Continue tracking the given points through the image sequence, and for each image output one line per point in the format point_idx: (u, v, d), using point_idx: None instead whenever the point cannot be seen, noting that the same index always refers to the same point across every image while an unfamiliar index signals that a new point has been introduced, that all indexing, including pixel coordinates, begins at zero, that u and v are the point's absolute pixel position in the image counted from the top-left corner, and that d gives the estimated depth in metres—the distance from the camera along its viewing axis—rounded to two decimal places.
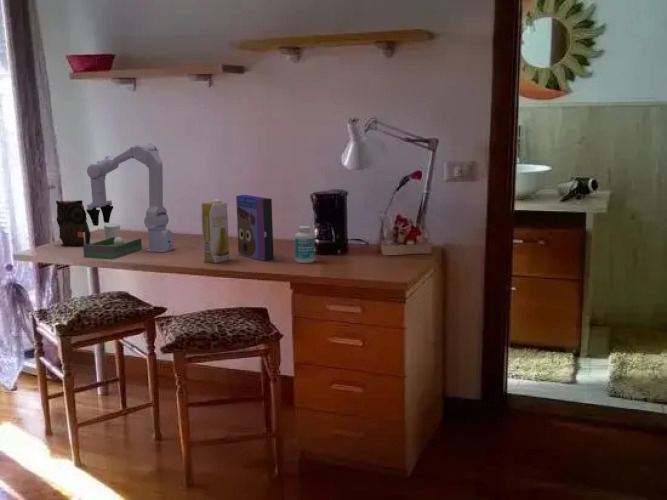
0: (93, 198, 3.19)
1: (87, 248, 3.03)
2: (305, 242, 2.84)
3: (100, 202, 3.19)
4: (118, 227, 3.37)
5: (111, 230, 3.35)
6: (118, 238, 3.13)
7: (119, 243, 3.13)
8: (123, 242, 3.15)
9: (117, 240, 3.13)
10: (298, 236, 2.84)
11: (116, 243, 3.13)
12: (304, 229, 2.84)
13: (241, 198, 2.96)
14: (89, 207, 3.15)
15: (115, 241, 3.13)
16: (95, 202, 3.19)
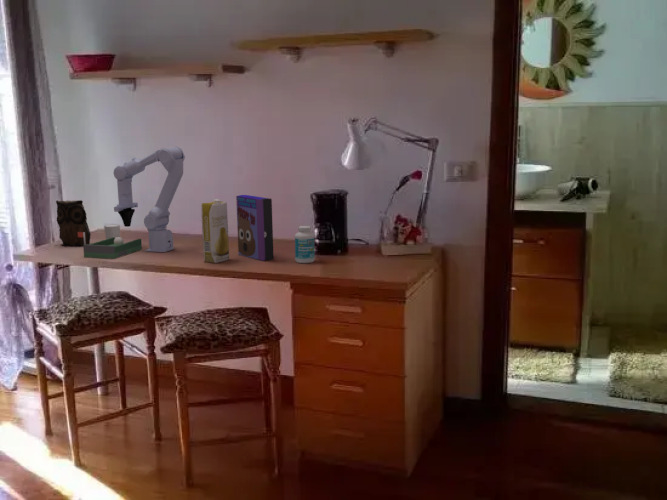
0: (120, 200, 3.16)
1: (87, 248, 3.03)
2: (305, 242, 2.84)
3: (127, 204, 3.16)
4: (118, 227, 3.37)
5: (111, 230, 3.35)
6: (118, 238, 3.13)
7: (119, 243, 3.13)
8: (123, 242, 3.15)
9: (117, 240, 3.13)
10: (298, 236, 2.84)
11: (116, 243, 3.13)
12: (304, 229, 2.84)
13: (241, 198, 2.96)
14: (115, 209, 3.12)
15: (115, 241, 3.13)
16: (122, 204, 3.16)
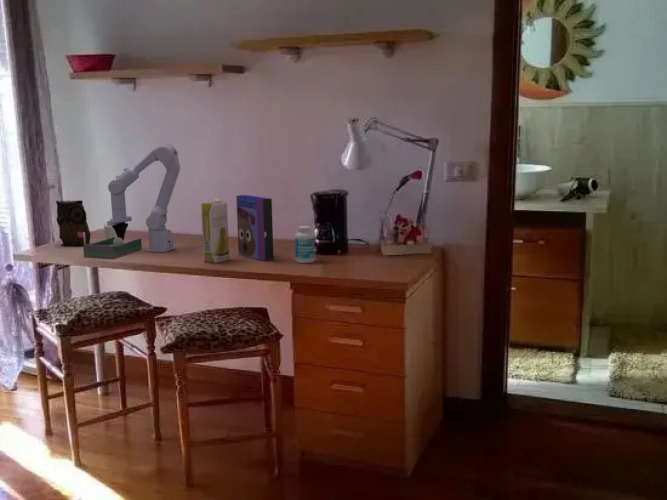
0: (113, 214, 3.12)
1: (87, 248, 3.03)
2: (305, 242, 2.84)
3: (120, 218, 3.12)
4: None
5: (111, 230, 3.35)
6: (117, 239, 3.13)
7: (119, 243, 3.13)
8: None
9: (117, 241, 3.13)
10: (298, 236, 2.84)
11: (116, 244, 3.13)
12: (304, 229, 2.84)
13: (241, 198, 2.96)
14: (109, 224, 3.08)
15: (115, 242, 3.13)
16: (115, 218, 3.12)
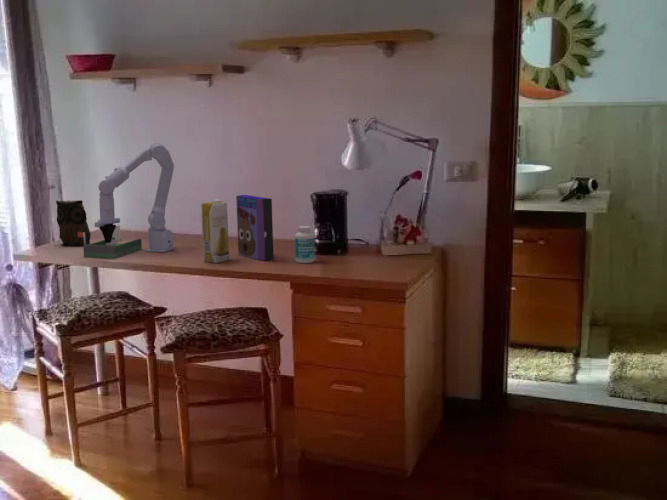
0: (101, 215, 3.05)
1: (87, 248, 3.03)
2: (305, 242, 2.84)
3: (108, 220, 3.05)
4: (118, 227, 3.37)
5: None
6: None
7: (115, 245, 3.11)
8: (114, 243, 3.09)
9: None
10: (298, 236, 2.84)
11: None
12: (304, 229, 2.84)
13: (241, 198, 2.96)
14: (96, 225, 3.01)
15: None
16: (103, 219, 3.05)
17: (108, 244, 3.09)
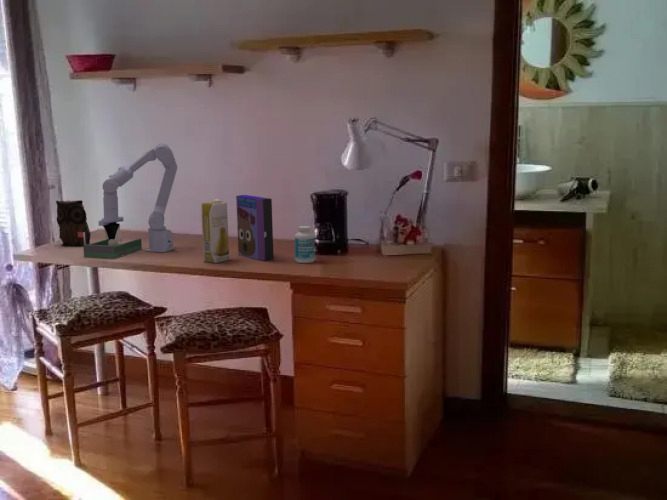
0: (105, 214, 3.07)
1: (87, 248, 3.03)
2: (305, 242, 2.84)
3: (112, 218, 3.07)
4: None
5: None
6: None
7: None
8: (116, 241, 3.11)
9: None
10: (298, 236, 2.84)
11: None
12: (304, 229, 2.84)
13: (241, 198, 2.96)
14: (100, 223, 3.03)
15: None
16: (107, 218, 3.07)
17: (111, 240, 3.10)
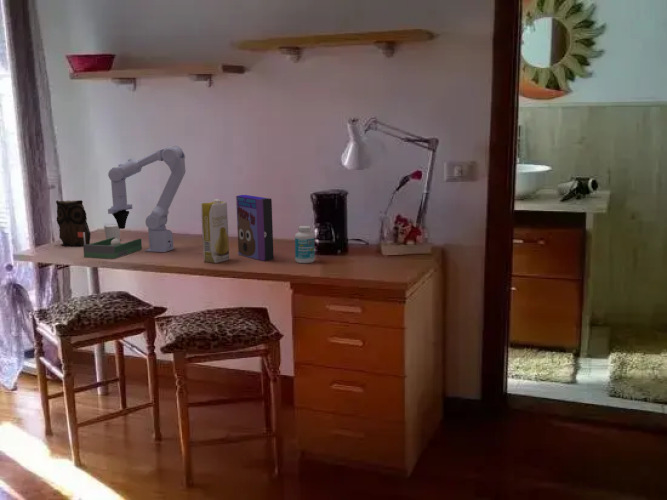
0: (114, 202, 3.12)
1: (87, 248, 3.03)
2: (305, 242, 2.84)
3: (121, 206, 3.12)
4: (118, 227, 3.37)
5: (111, 230, 3.35)
6: None
7: None
8: (120, 243, 3.11)
9: None
10: (298, 236, 2.84)
11: None
12: (304, 229, 2.84)
13: (241, 198, 2.96)
14: (110, 211, 3.08)
15: None
16: (116, 206, 3.12)
17: (116, 241, 3.10)
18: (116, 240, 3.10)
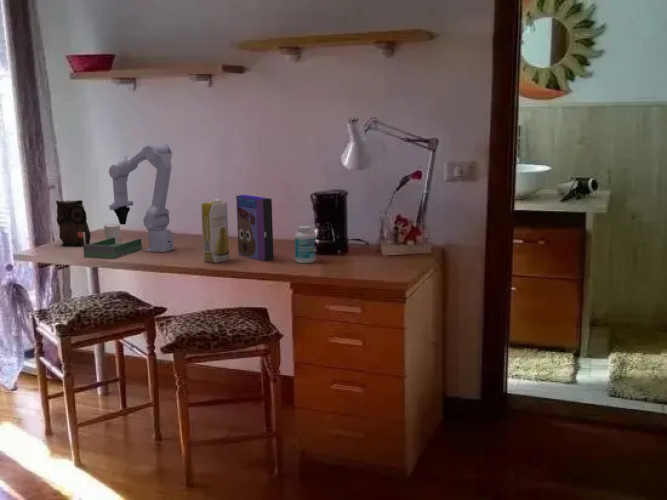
0: (115, 198, 3.21)
1: (87, 248, 3.03)
2: (305, 242, 2.84)
3: (122, 202, 3.21)
4: (118, 227, 3.37)
5: (111, 230, 3.35)
6: None
7: None
8: None
9: None
10: (298, 236, 2.84)
11: None
12: (304, 229, 2.84)
13: (241, 198, 2.96)
14: (111, 207, 3.17)
15: None
16: (117, 202, 3.21)
17: None
18: None
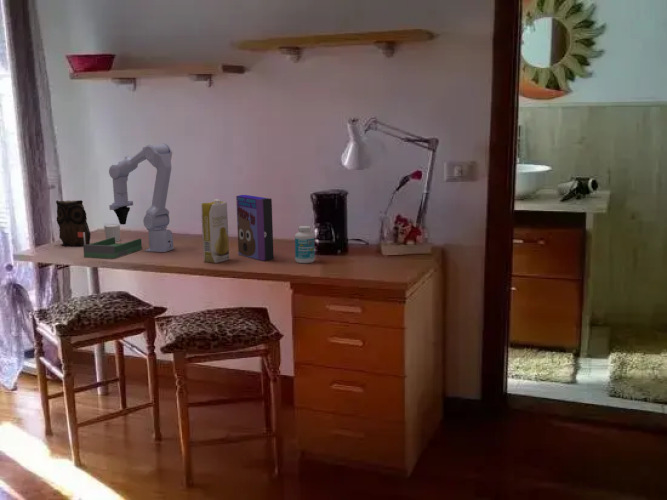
0: (115, 198, 3.21)
1: (87, 248, 3.03)
2: (305, 242, 2.84)
3: (122, 202, 3.21)
4: (118, 227, 3.37)
5: (111, 230, 3.35)
6: None
7: None
8: None
9: None
10: (298, 236, 2.84)
11: None
12: (304, 229, 2.84)
13: (241, 198, 2.96)
14: (111, 207, 3.17)
15: None
16: (117, 202, 3.21)
17: None
18: None
